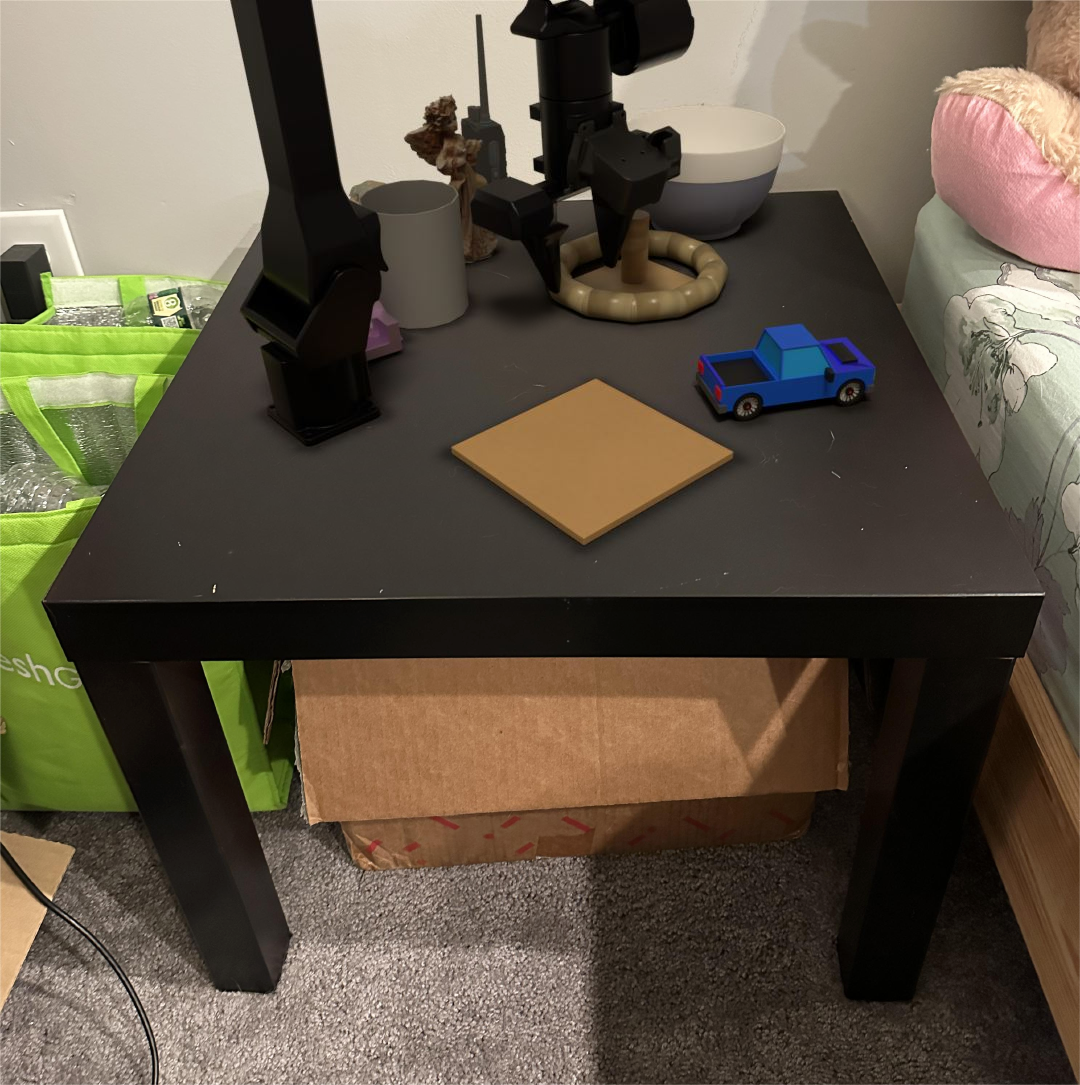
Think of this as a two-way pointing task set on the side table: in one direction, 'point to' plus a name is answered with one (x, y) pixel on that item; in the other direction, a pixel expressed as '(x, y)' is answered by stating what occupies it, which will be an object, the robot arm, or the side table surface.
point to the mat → (591, 458)
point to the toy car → (785, 372)
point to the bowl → (715, 168)
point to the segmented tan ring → (649, 302)
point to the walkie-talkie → (485, 124)
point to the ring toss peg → (635, 265)
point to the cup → (420, 251)
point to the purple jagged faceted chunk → (382, 334)
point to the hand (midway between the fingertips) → (582, 279)
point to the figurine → (454, 169)
